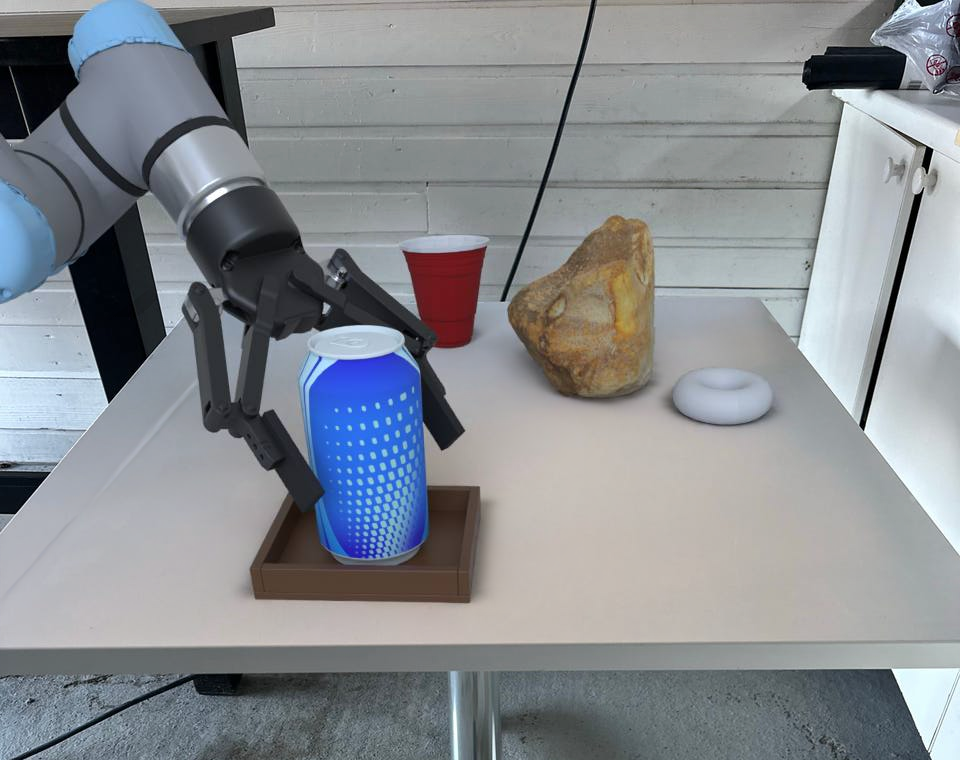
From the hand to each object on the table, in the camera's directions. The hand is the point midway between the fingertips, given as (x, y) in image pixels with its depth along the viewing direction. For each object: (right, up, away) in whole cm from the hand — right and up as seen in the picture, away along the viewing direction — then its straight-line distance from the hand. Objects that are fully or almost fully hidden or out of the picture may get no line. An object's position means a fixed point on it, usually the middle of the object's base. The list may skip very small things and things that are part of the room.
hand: (388, 470), depth 66 cm
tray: (-2, -5, +6) cm, 8 cm away
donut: (+31, +11, +28) cm, 44 cm away
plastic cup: (+3, +25, +49) cm, 55 cm away
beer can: (-1, -5, +6) cm, 8 cm away
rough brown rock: (+18, +18, +39) cm, 47 cm away
